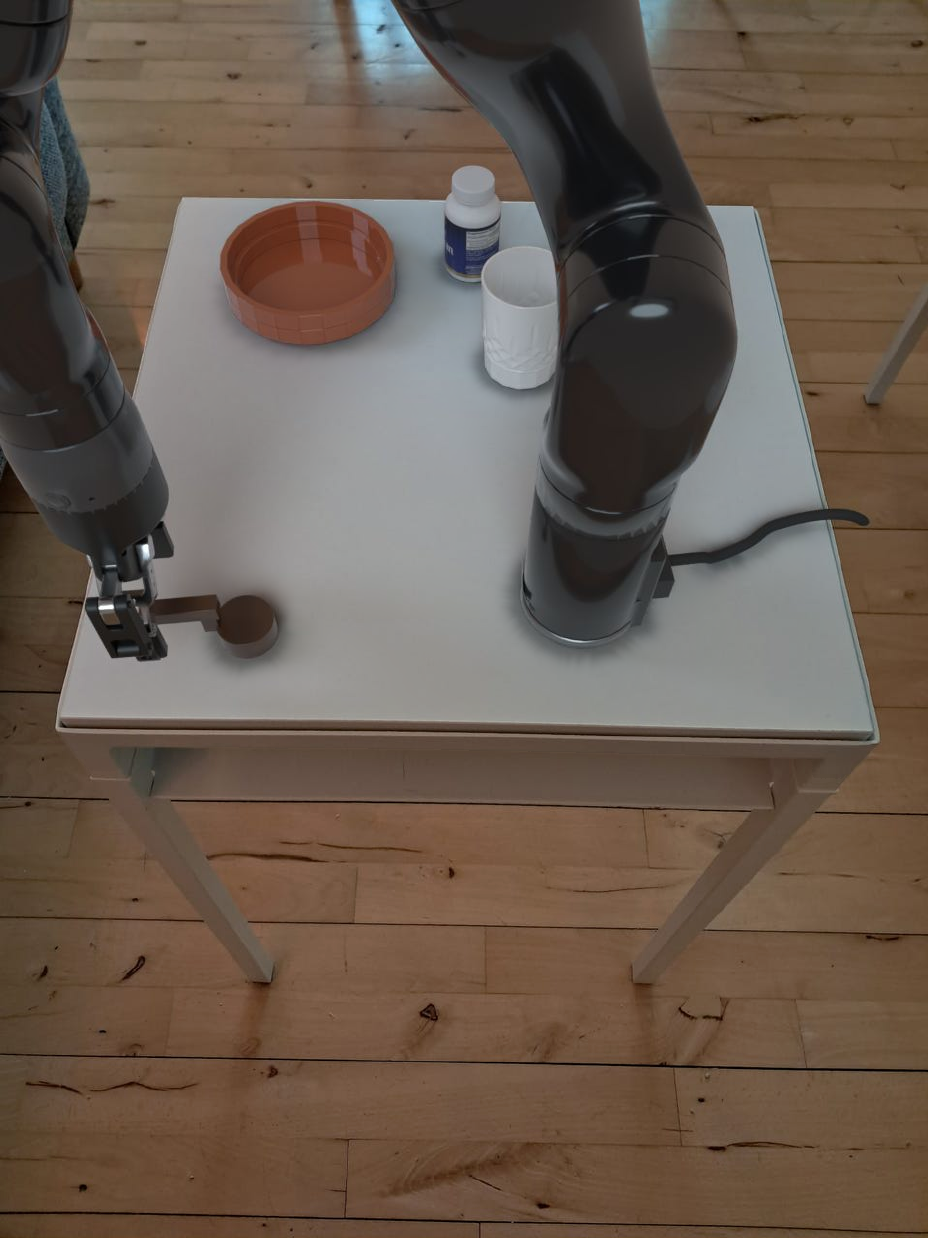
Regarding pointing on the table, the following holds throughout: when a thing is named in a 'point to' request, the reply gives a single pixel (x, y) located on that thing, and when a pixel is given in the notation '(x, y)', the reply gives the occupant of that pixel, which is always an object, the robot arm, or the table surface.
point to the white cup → (520, 316)
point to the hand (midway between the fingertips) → (157, 602)
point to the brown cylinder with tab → (225, 620)
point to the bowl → (308, 272)
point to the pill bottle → (471, 223)
